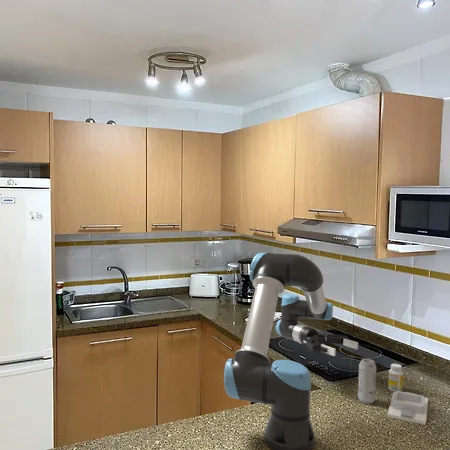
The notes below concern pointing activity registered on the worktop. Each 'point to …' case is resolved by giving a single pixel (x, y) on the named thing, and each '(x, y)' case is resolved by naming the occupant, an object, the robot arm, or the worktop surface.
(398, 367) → the supplement bottle
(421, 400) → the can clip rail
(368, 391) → the energy drink can
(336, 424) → the worktop surface
